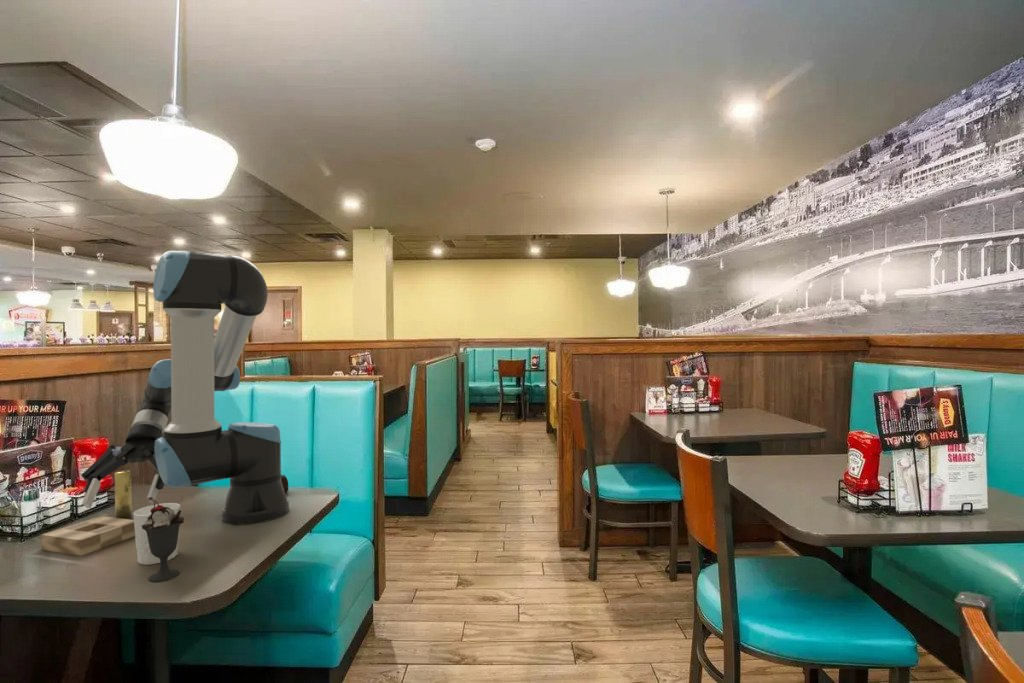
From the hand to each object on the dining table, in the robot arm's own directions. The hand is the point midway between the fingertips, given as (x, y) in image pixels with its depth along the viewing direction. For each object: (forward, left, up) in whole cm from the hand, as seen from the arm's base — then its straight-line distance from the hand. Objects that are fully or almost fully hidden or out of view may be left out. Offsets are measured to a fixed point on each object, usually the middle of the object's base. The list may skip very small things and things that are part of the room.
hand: (118, 503), depth 125 cm
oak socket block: (-6, +10, -5) cm, 13 cm away
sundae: (-37, +18, -5) cm, 42 cm away
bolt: (-16, -27, -6) cm, 32 cm away
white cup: (-28, +12, -5) cm, 31 cm away
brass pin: (+1, -2, -5) cm, 5 cm away
